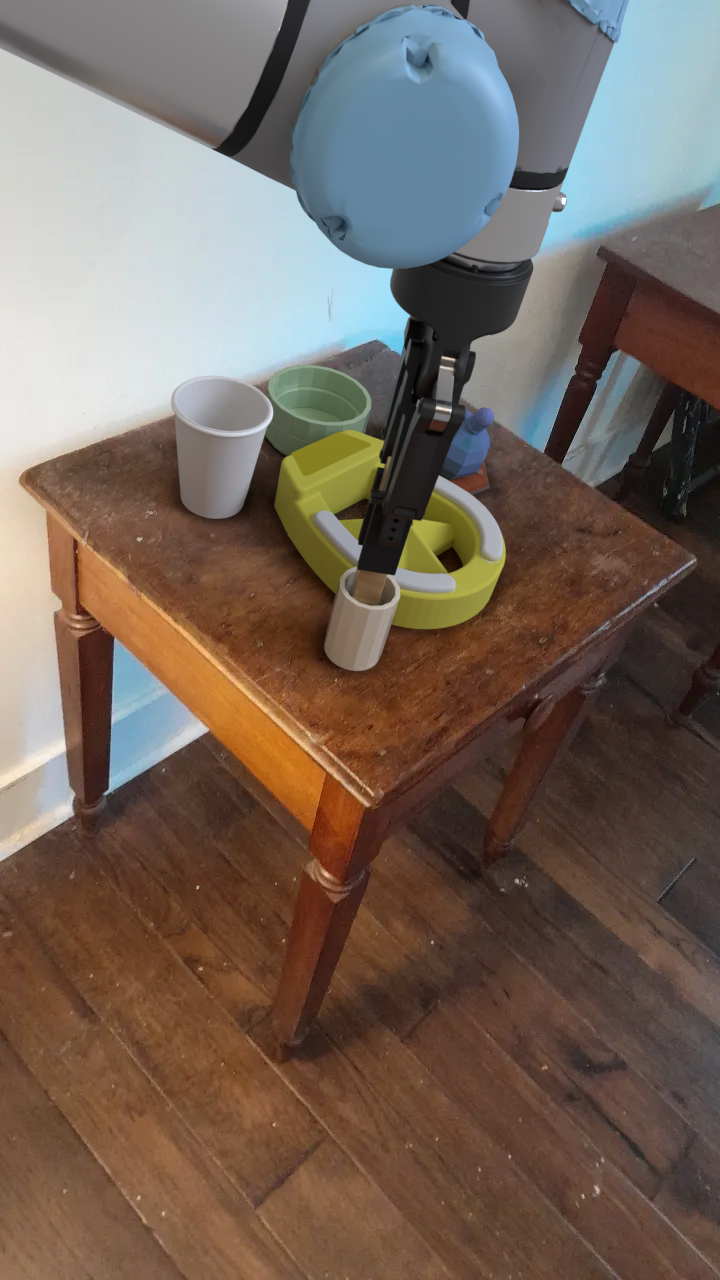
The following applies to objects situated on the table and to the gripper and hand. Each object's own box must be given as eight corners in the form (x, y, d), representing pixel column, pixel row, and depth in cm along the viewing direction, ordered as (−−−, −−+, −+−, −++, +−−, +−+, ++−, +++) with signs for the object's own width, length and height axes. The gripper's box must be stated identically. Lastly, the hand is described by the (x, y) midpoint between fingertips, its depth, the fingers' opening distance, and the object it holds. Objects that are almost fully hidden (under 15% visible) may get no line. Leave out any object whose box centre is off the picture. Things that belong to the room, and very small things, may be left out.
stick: (340, 638, 73) (388, 473, 62) (341, 620, 74) (388, 455, 63) (366, 642, 73) (418, 479, 62) (366, 624, 75) (417, 460, 63)
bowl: (257, 458, 90) (264, 413, 86) (265, 400, 97) (272, 356, 93) (360, 475, 91) (371, 432, 88) (361, 417, 98) (371, 375, 95)
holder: (322, 667, 74) (339, 604, 69) (324, 624, 77) (340, 561, 72) (380, 675, 74) (400, 613, 69) (380, 632, 77) (399, 570, 72)
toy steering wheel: (365, 457, 94) (375, 414, 90) (528, 577, 86) (547, 536, 82) (241, 517, 84) (247, 472, 80) (413, 658, 76) (429, 616, 73)
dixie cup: (268, 483, 88) (283, 390, 81) (245, 539, 82) (259, 444, 75) (181, 459, 88) (188, 364, 80) (152, 513, 82) (157, 416, 75)
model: (505, 484, 95) (535, 406, 89) (437, 508, 90) (464, 427, 84) (429, 418, 101) (453, 340, 94) (362, 437, 96) (382, 356, 89)
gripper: (554, 321, 47) (431, 639, 64) (521, 198, 57) (422, 500, 74) (408, 290, 46) (321, 622, 63) (401, 171, 56) (328, 483, 73)
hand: (376, 556), depth 68 cm, fingers closed on stick, 2 cm apart
